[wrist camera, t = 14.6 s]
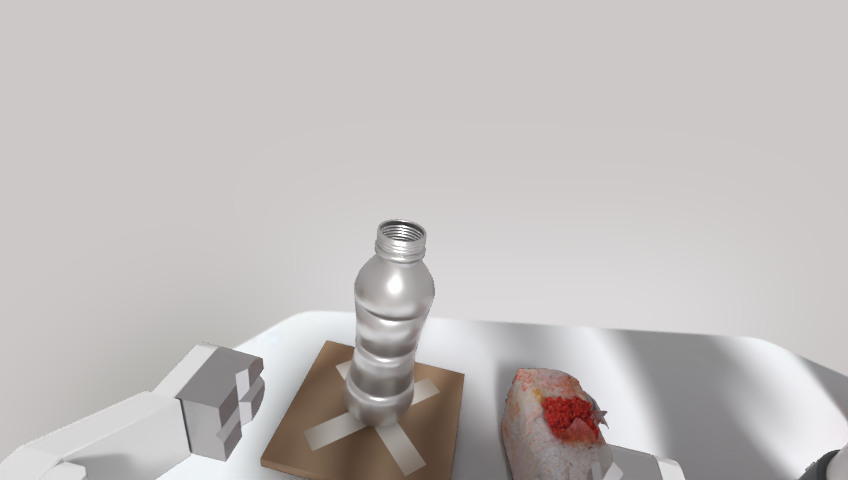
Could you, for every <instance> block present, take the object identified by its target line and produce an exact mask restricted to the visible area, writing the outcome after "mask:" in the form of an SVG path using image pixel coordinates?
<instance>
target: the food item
mask: <svg viewBox="0 0 848 480" xmlns="http://www.w3.org/2000/svg"><path fill="white" fill-rule="evenodd" d="M512 384H513V385H512V387H511V388H510V391H509V393H508V395H507V396H508V399H506V400H505V402H506V403H507V404H506V408H505V412H504V415H503V419H502V424H501V427H502V434H503V440H504V445H505V449H506V452H507V457H508V460H509V463H510V467H511V472H512V476H513V480H586V476H587V473H588V471H589V469H590V467H591V465H593V464H595V463H598V462H599V457H598V452H599V450H600V448H601V447H602V446H603V445H604V444H606V442H605V440H604V438H603V436H602V433H601V431H600V429H599V427H598V424H599V423H600V422H601V423H602V424H605V425H606V426H607V427H608V425H607V423H606V421H605V419H604V417H603V416H605V413H607V411H601V410H600V408H599V407H598V405H597V403H596V401H595V400H594V399H593V398H592V397H591V396H589V395H588V394H587V393H586V392H585V391H583V390H582V388H581V386H580V384H579V381H578V380H577V379H576V378H574V377H572V376H570V375H569V374H567V373H564V372H561V371H558V370H550V369H546V368H541V369H536V368H534V369H518V372H517V374H516V376H515V378H514V380H513V382H512ZM608 429H609V428H608Z"/></svg>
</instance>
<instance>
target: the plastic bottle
mask: <svg viewBox="0 0 848 480" xmlns="http://www.w3.org/2000/svg"><path fill="white" fill-rule="evenodd" d="M425 242H426V231H425V230H424V228H423V227H421V226H420V225H418V224H416V223H414V222H411V221H407V220H399V219H395V220H388V221H384V222H382V223H381V224H380V225H379V227H378V231H377V240H376V242H375V251H376V253H377V254H376V255H374V256H373V257H372V258H371V259H370V260H369V261H368V262H367V263H366V264H365V265H364V266H363V267H362V268H361V270H360V272H359V274H358V276H357V278H356V280H355V287H354V294H355V307H356V342H355V349H354V353H353V358H352V362H351V366H350V368H349V370H348V373H347V376H346V379H345V383H344V387H343V392H344V400H345V405H346V408H347V410H348V411H349V413H350V414H351V415H352V416H353V417H354V418H355V419H356V420H358V421H359V422H360V423H362V424H365V425H367V426H371V427H385V426H389V425H391V424H393V423H396V422H397V421H399V420H400V419H402V418H403V417H404V416H405V415H406V413H407V411H408V409H409V407H410V405H411V403H412V401H413V398H414V375H413V374H414V363H415V352H416V349H417V345H418V341H419V338H420V334H421V330H422V328H423V325H424V323H425V320H426V318H427V315H428V313H429V310H430V308H431V305H432V302H433V299H434V295H435V288H434V281H433V278H432V276H431V274H430V272H429V270H428V268H427V267H426V265H425V264H424V263H423V261H422V259H423V257H424V256H425V251H426V248H425Z"/></svg>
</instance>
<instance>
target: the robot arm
mask: <svg viewBox="0 0 848 480" xmlns="http://www.w3.org/2000/svg"><path fill="white" fill-rule="evenodd" d="M263 369H264V367H263V359H262V358H260V357H257V356H253V355H249V354H246V353H242V352H239V351H235V350H232V349H228V348H224V347H220V346H216V345H212V344H209V343H205V342H201V343H199V344H197V345H196V346H194V348H193V349H192V350H191V351H190V352H189V353H188V354H187V355H186V356H185V357H184V358H183V359H182V360H181V361H180V362H179V363H178V364H177V365H176V367H175V368H174V369H173V370H172V371H171V372H170V373H169V374H168V375H167V376H166V377H165V378H164V379H163V380H162V381H161V382H160V384H159V385H158V386H157V387H156V388H155V389H154V390H153V391H152V392H150V391H143V392H141V393H139V394H137V395H134V396H132V397H130V398H128V399H125V400H123V401H121V402H119V403H116V404H114V405H112V406H110V407H107V408H105V409H103V410H101V411H99V412H96V413H94V414H91V415H89V416H87V417H85V418H83V419H80V420H78V421H76V422H73V423H71V424H69V425H66V426H64V427H62V428H60V429H58V430H56V431H53V432H51V433H49V434H46V435H44V436H42V437H39V438H37V439H35V440H33V441H30V442H28V443H26V444H24V445H21V446H20V447H18V448H17V449H16V450H15V451H14V452H13V453H12V454H11V455H10V456H8V457H7V458H6V459H5V460H4V461H3V462H2V463H1V464H0V480H155V479H157V478H158V477H160V476H161V475H163V474H164V473H166V472H167V471H169V470H170V469H171V468H173V467H174V466H176V465H177V464H179V463H180V462H182V461H183V460H185V459H186V458H188V457H189V456H190V455H191V454H190V453H192V454H196V455H200V456H204V457H209V458H213V459H217V460H221V461H225V462H226V461H227V459H228V458H229V456H230V454H231V453H232V451H233V450H234V448H235V447H236V445H237V444H238V442H239V440H240V439H241V437H242V432H241V426H243V425H245V424H247V423H249V422H250V421H252V420H253V418H254V417H255V415H256V413H257V412H258V410H259V407H260V405H261V402H262V400H263V396H264V390H265V383H264V380H263V379H262V378H261V377H260V373H261V372H262V370H263ZM598 457H599V462H598V463H595V464H593V465H591V467H590V469H589V471H588V473H587V476H586V480H685V477H684V475H683V472H682V469H681V466H680V465H679V464H678V462H677V461H675V460H671V459H667V458H663V457H659V456H655V455H650V454H648V453H644V452H640V451H636V450H631V449H627V448H623V447H619V446H615V445H610V444H604V445H603V446H602V447H601V448H600V450H599V452H598ZM805 471H806V472H805V473H804V474H803V475H802V476H801V477H800V478H799V479H796V480H848V443H847V444H846V445H845V446H844V447H843V448H842V449H840V450H834V451H831V452H828V453H827V454H825V455H823V456H822V457H821V458H820V459H819V460H817V462H816V463H815V462H813V463H812V464H811V465H810V466H809V467H808V468H806V469H805Z"/></svg>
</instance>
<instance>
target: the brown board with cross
mask: <svg viewBox="0 0 848 480" xmlns="http://www.w3.org/2000/svg"><path fill="white" fill-rule="evenodd" d="M354 349H355V347H351V346H347V345H343V344H339V343H335V342H331V341H327V340H326V342H325V344H324V346H323V348H322V349H321V351H320V353H319V355H318V357H317V358H316V360H315V362H314V364H313V366H312V367H311V369H310V371H309V373H308V375H307V376H306V378H305V380H304V382H303V383H302V385H301V387H300V389H299V391H298V392H297V394H296V396H295V398H294V400H293V401H292V403H291V405H290V407H289V409H288V410H287V412H286V414H285V416H284V418H283V419H282V421H281V423H280V425H279V426H278V428H277V430H276V432H275V434H274V435H273V437H272V439H271V441H270V443H269V444H268V446H267V448H266V450H265V452H264V453H263V455H262V457H261V466H264V467H267V468H271V469H275V470H278V471H282V472H285V473H289V474H293V475H296V476H300V477H304V478H307V479H311V480H451V472H452V465H453V457H454V450H455V442H456V435H457V427H458V420H459V412H460V405H461V397H462V390H463V382H464V375H465V374H461V373H457V372H453V371H449V370H445V369H441V368H437V367H433V366H429V365H425V364H421V363H416V362H415V363H414V374H413V375H414V398H413V401H412V403H411V405H410V407H409V409H408V411H407V413H406V415H405V416H404V417H403V418H402V419H400V420H399V421H397V422H396V423H393V424H391V425H389V426H385V427H371V426H367V425H365V424H362V423H360V422H359V421H358V420H356V419H355V418H354V417H353V416H352V415H351V414H350V413H349V411H348V410H347V408H346V405H345V400H344V392H343V387H344V383H345V379H346V376H347V373H348V370H349V368H350V366H351V362H352V358H353V353H354Z"/></svg>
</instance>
